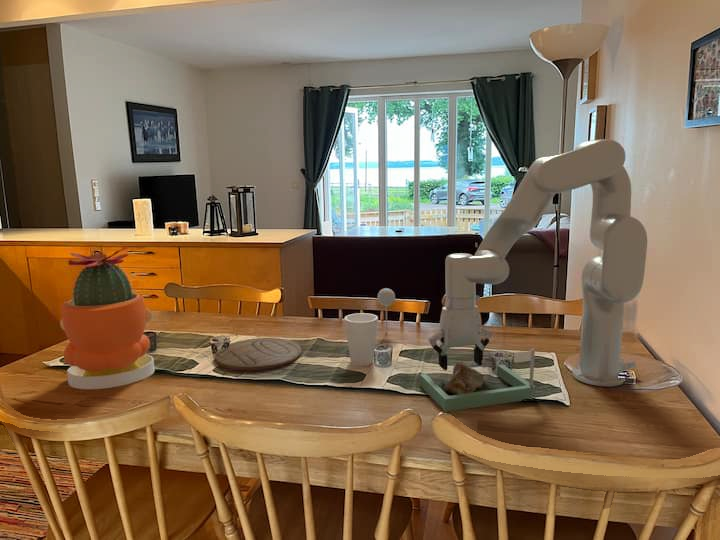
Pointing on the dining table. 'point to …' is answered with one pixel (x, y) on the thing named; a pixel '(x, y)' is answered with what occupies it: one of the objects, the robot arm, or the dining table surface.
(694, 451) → the dining table surface
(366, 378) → the dining table surface
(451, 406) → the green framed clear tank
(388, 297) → the lollipop
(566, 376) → the dining table surface
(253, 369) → the trivet
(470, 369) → the decorative stone
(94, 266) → the potted cactus
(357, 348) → the foam cup
